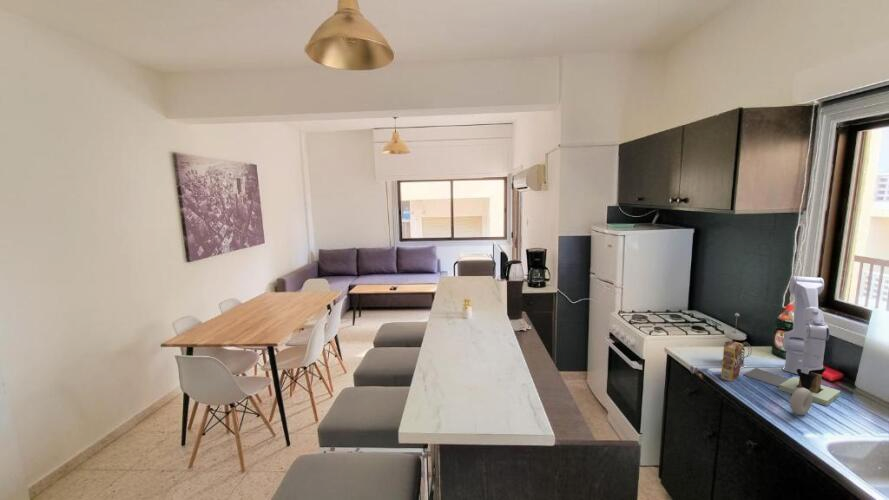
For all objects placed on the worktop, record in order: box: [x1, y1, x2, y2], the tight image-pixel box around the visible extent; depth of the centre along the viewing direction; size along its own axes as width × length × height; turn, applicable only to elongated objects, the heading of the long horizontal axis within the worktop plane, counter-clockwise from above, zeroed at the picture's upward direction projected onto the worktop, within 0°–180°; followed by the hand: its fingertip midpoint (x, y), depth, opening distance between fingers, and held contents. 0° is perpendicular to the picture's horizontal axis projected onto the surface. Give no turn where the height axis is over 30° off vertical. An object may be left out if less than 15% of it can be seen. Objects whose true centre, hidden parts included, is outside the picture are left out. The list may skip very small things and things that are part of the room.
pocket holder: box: [778, 375, 841, 406], centre depth 145 cm, size 14×14×2 cm
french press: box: [719, 312, 753, 369], centre depth 169 cm, size 10×12×25 cm
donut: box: [789, 388, 813, 416], centre depth 130 cm, size 10×4×10 cm, turn 114°
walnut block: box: [798, 372, 823, 394], centre depth 144 cm, size 5×5×8 cm
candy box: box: [720, 341, 744, 382], centre depth 157 cm, size 9×4×15 cm, turn 123°
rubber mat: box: [743, 367, 790, 388], centre depth 157 cm, size 12×12×1 cm
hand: (809, 385), depth 144 cm, fingers open, 7 cm apart
